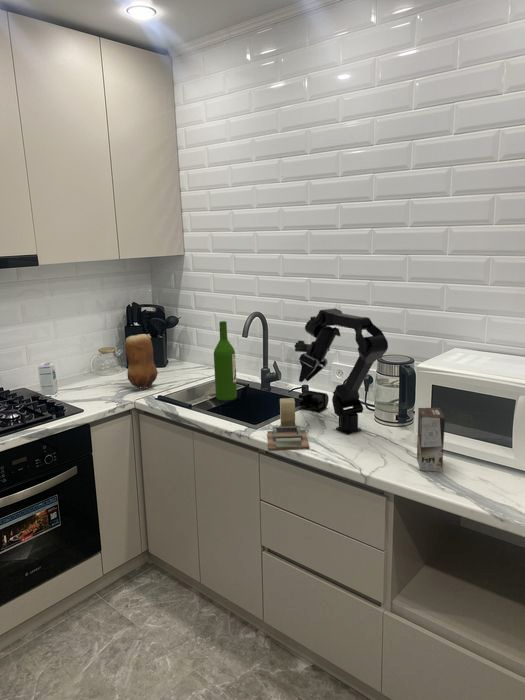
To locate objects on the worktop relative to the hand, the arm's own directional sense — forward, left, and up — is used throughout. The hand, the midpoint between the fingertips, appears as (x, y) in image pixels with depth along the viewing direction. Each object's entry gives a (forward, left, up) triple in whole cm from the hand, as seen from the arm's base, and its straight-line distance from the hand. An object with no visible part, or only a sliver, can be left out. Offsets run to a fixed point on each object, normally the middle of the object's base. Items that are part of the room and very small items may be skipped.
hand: (303, 381), depth 191 cm
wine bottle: (+43, +8, -15) cm, 47 cm away
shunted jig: (-12, +16, -15) cm, 25 cm away
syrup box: (+95, +69, -15) cm, 119 cm away
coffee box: (-52, -7, -15) cm, 54 cm away
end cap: (+9, -12, -15) cm, 21 cm away
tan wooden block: (-2, +8, -15) cm, 17 cm away
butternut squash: (+80, +31, -15) cm, 88 cm away
